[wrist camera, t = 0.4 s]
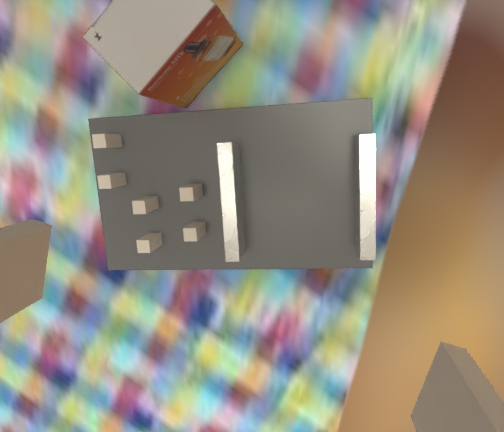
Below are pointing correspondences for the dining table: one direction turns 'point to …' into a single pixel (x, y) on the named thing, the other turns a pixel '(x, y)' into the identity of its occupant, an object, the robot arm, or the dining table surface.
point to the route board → (209, 194)
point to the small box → (164, 45)
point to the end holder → (236, 211)
